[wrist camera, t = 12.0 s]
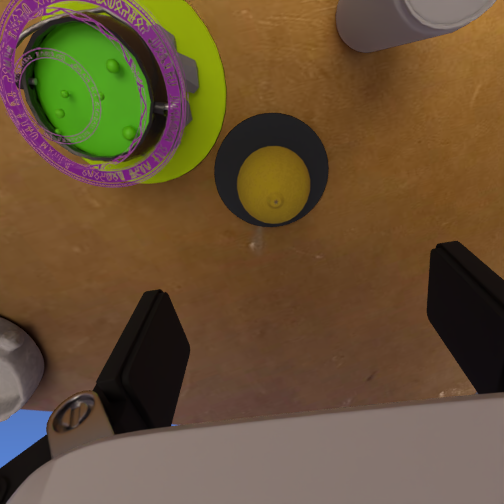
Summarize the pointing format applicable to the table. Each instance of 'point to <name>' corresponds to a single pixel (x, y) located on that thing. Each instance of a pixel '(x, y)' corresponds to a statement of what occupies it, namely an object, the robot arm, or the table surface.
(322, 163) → the disc
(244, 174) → the lemon
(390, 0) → the beverage can
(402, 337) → the table surface
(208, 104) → the toy cauldron
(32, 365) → the dish
